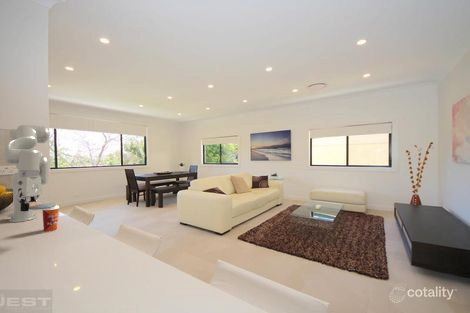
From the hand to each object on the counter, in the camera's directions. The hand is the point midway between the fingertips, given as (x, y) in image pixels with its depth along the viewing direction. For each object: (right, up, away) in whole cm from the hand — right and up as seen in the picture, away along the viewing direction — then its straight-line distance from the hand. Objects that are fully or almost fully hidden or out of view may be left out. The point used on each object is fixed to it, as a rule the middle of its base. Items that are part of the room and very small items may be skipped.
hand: (28, 209), depth 104 cm
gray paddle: (+5, +1, +1) cm, 5 cm away
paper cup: (-3, -16, +16) cm, 23 cm away
